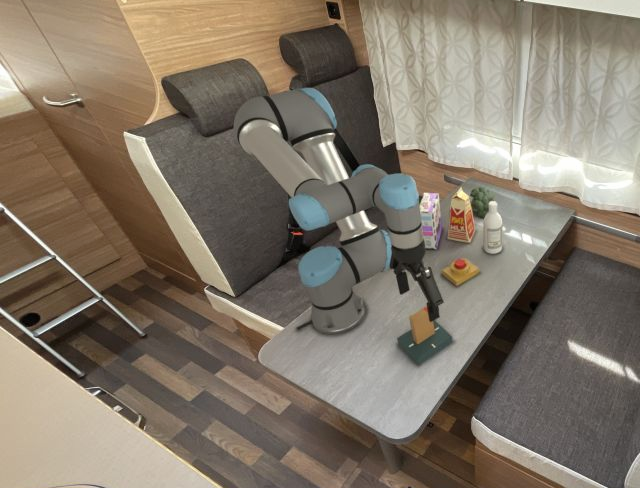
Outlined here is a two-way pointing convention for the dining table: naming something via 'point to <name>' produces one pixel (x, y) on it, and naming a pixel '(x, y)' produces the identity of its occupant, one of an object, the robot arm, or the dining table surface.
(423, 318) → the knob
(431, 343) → the panel
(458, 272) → the button box
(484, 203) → the vegetable
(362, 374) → the dining table surface
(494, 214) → the bath foam
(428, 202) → the candy box
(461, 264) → the button
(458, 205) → the milk carton
